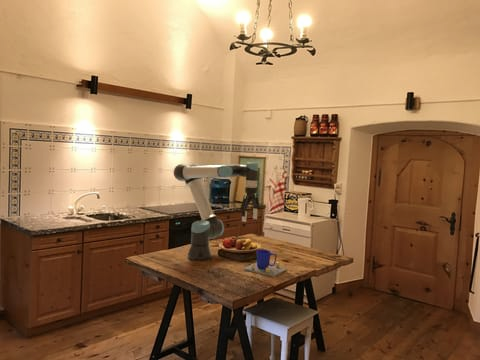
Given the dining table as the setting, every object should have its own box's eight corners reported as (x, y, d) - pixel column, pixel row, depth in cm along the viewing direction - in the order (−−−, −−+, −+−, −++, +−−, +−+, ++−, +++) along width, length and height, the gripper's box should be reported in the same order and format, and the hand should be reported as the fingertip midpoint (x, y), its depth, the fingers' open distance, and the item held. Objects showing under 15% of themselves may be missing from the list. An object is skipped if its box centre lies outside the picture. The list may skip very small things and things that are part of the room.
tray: (244, 270, 240) (244, 263, 239) (257, 263, 253) (257, 257, 253) (274, 277, 229) (274, 270, 229) (286, 270, 243) (286, 263, 242)
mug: (274, 271, 236) (275, 254, 236) (254, 268, 239) (255, 252, 238) (276, 267, 244) (277, 251, 243) (257, 264, 247) (258, 249, 246)
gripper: (246, 188, 242) (244, 223, 243) (265, 186, 263) (264, 218, 265) (235, 187, 246) (233, 221, 247) (256, 185, 267) (254, 216, 269)
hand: (249, 220), depth 256 cm, fingers open, 13 cm apart
